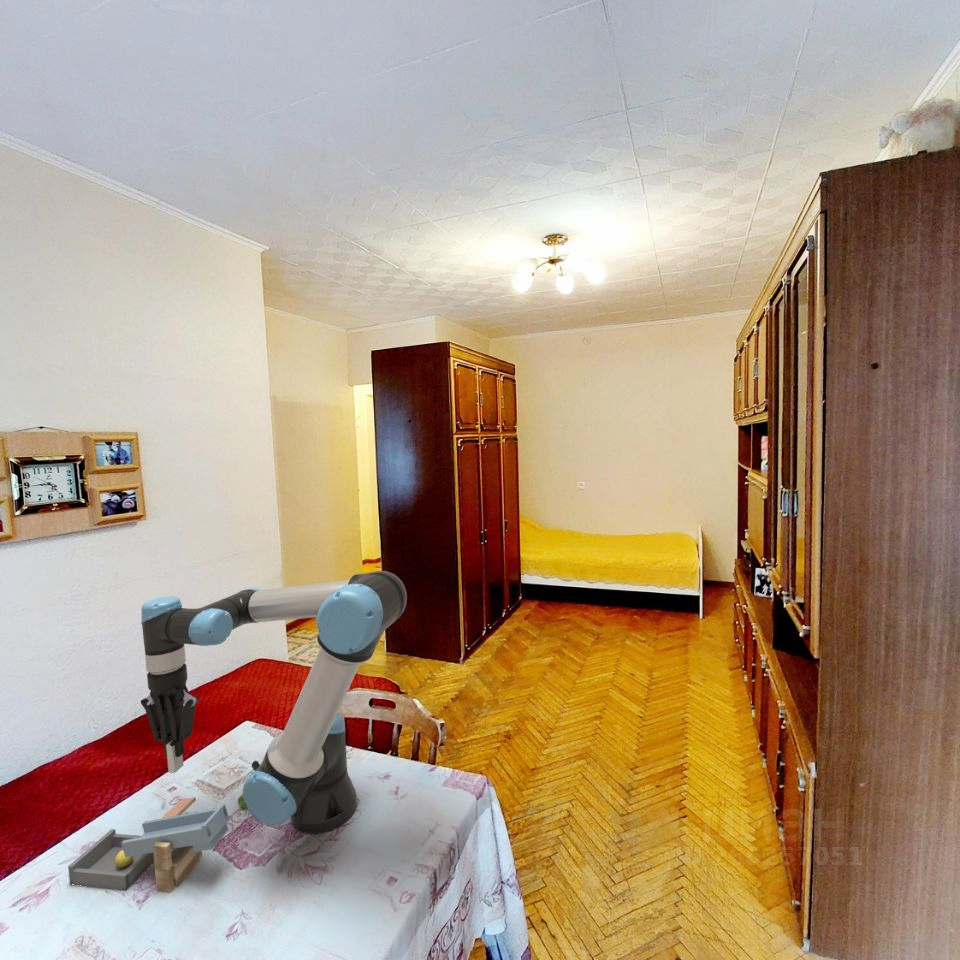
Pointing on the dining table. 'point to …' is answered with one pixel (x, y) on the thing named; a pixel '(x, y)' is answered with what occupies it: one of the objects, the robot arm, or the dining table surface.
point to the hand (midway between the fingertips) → (176, 769)
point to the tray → (108, 864)
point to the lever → (181, 829)
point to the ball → (122, 859)
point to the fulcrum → (173, 865)
